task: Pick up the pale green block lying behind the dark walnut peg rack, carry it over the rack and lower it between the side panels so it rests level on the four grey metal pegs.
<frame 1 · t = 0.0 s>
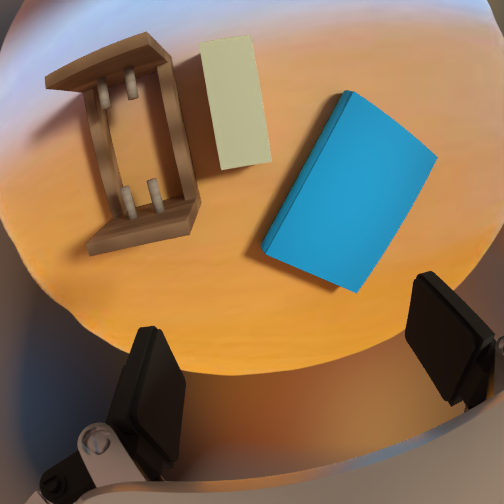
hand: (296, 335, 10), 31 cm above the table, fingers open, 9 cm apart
book: (347, 193, 41), on the table
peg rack: (142, 139, 35), on the table
pale green block: (235, 103, 34), on the table
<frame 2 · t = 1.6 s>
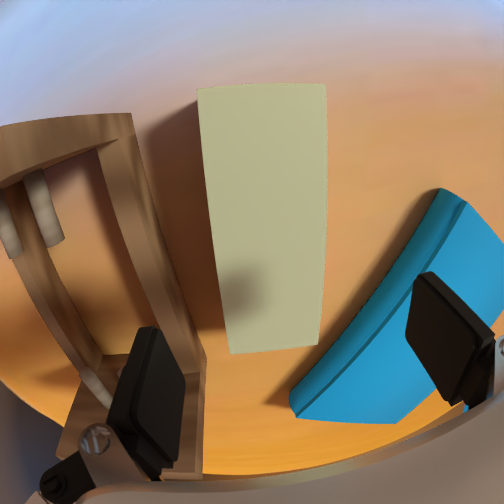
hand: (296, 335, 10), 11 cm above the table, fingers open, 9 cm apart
book: (411, 324, 26), on the table
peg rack: (100, 271, 20), on the table
pale green block: (261, 211, 20), on the table
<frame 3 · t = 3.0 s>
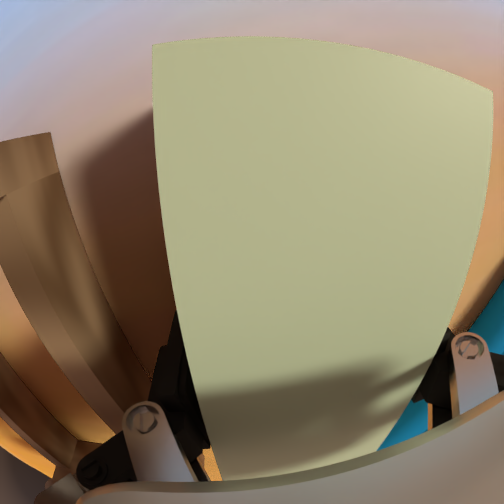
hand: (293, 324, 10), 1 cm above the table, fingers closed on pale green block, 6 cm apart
book: (452, 396, 18), on the table
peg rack: (51, 365, 12), on the table
pale green block: (289, 307, 11), on the table, touching gripper
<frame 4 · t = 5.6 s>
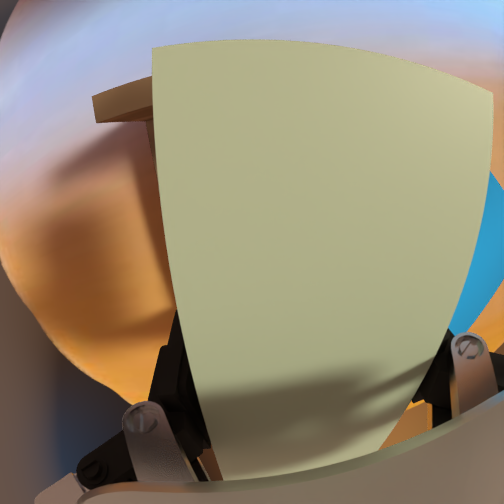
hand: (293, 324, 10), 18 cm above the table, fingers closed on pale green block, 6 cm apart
book: (449, 268, 32), on the table
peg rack: (238, 203, 26), on the table
pale green block: (290, 308, 11), point 17 cm above the table, touching gripper
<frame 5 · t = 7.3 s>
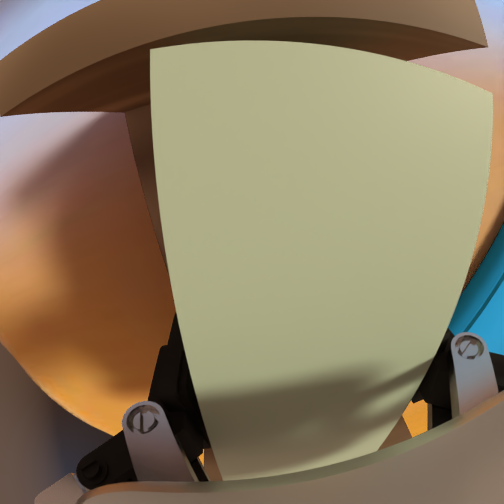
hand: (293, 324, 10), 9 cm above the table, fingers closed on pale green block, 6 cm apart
book: (497, 292, 24), on the table
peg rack: (266, 231, 19), on the table
pale green block: (289, 309, 11), point 8 cm above the table, touching gripper
when the fingers open (8 cm above the table, at t = 8.4 s): pale green block stays where it is, resting on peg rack.
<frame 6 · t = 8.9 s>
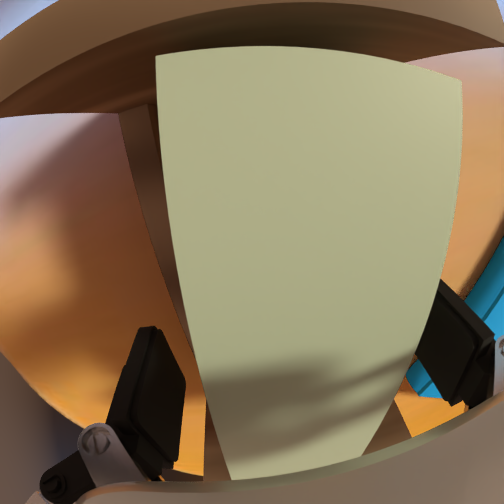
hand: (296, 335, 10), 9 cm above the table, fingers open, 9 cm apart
book: (500, 297, 23), on the table
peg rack: (267, 238, 18), on the table
pale green block: (286, 294, 12), point 7 cm above the table, touching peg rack
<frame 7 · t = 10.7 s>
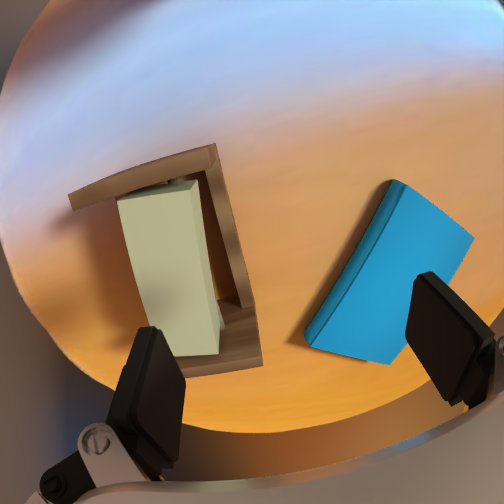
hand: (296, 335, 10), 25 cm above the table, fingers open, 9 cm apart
book: (387, 277, 40), on the table
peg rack: (188, 240, 35), on the table
pale green block: (179, 262, 29), point 7 cm above the table, touching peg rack
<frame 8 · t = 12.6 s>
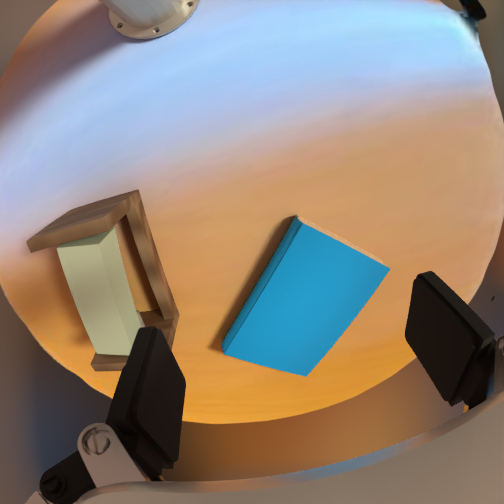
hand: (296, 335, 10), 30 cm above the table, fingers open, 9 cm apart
book: (299, 300, 47), on the table
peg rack: (124, 264, 41), on the table
pale green block: (109, 285, 35), point 7 cm above the table, touching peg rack
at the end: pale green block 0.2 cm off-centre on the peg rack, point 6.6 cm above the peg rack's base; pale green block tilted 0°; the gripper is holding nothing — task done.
